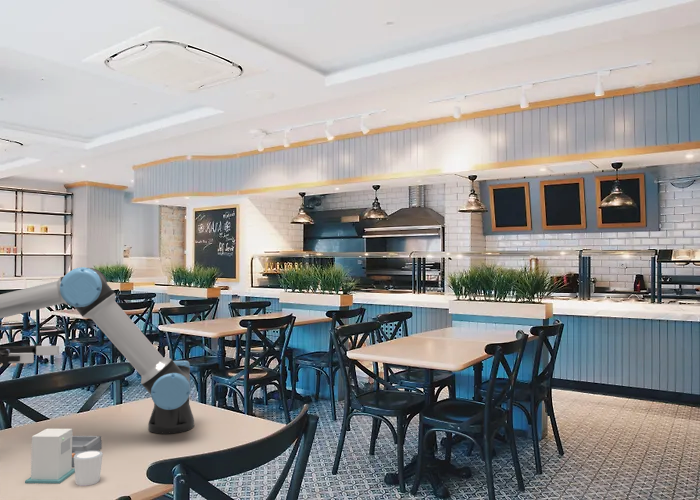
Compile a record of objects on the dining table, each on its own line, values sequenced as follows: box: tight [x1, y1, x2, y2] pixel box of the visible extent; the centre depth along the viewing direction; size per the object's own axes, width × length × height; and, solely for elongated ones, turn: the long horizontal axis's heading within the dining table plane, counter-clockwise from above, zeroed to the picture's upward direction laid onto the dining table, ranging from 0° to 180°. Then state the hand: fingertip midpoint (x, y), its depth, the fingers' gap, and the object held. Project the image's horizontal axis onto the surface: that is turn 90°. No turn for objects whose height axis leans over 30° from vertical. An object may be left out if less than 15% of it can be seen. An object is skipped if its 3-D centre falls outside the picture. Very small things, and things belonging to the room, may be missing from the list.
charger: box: [30, 428, 73, 480], centre depth 147 cm, size 8×7×11 cm
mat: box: [24, 467, 75, 484], centre depth 146 cm, size 9×9×1 cm
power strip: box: [72, 435, 103, 468], centre depth 166 cm, size 10×24×4 cm, turn 0°
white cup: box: [73, 450, 104, 487], centre depth 143 cm, size 7×7×7 cm
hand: (46, 354), depth 161 cm, fingers open, 13 cm apart
